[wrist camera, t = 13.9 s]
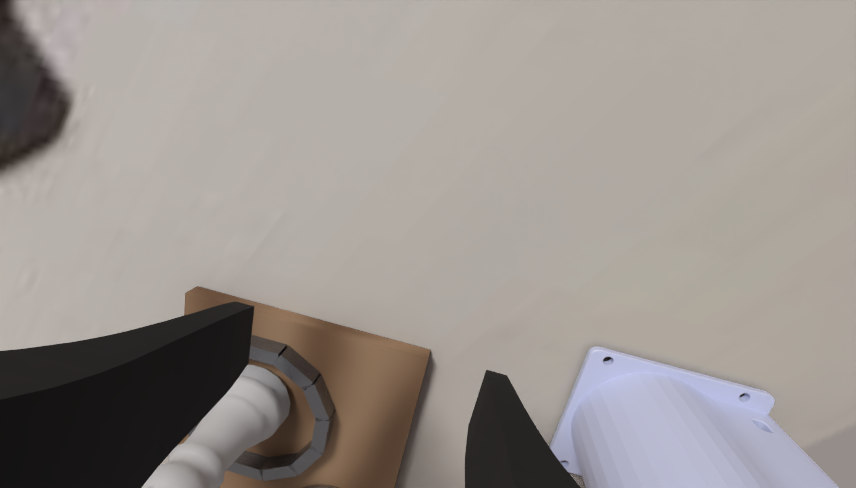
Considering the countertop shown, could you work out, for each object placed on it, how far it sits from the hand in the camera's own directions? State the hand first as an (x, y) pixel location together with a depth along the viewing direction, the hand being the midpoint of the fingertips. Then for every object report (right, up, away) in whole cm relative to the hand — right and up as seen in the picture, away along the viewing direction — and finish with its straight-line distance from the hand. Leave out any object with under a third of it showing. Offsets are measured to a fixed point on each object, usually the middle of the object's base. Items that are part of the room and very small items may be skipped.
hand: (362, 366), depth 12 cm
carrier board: (-7, -9, +14) cm, 18 cm away
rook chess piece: (-8, -5, +12) cm, 15 cm away
